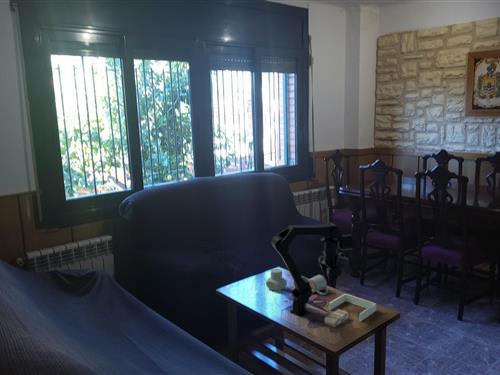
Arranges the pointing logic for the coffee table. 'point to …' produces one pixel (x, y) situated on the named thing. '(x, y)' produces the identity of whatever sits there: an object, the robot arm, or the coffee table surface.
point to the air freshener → (276, 280)
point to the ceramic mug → (318, 284)
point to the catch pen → (357, 301)
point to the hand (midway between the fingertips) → (329, 282)
